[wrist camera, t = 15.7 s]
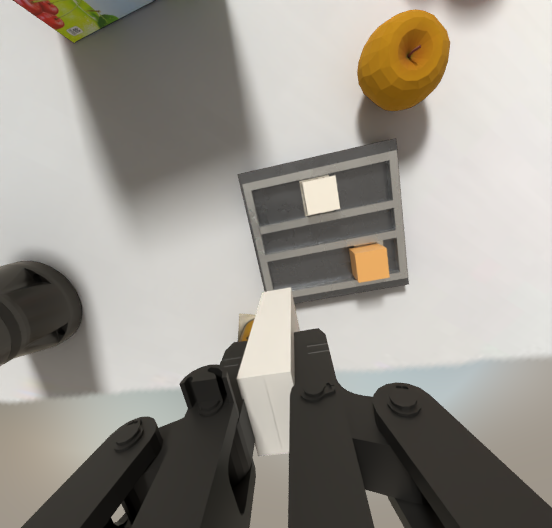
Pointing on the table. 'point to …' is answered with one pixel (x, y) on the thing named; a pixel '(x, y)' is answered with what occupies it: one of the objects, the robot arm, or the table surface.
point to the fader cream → (320, 195)
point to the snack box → (80, 14)
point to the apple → (404, 60)
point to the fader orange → (369, 262)
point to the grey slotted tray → (327, 221)
